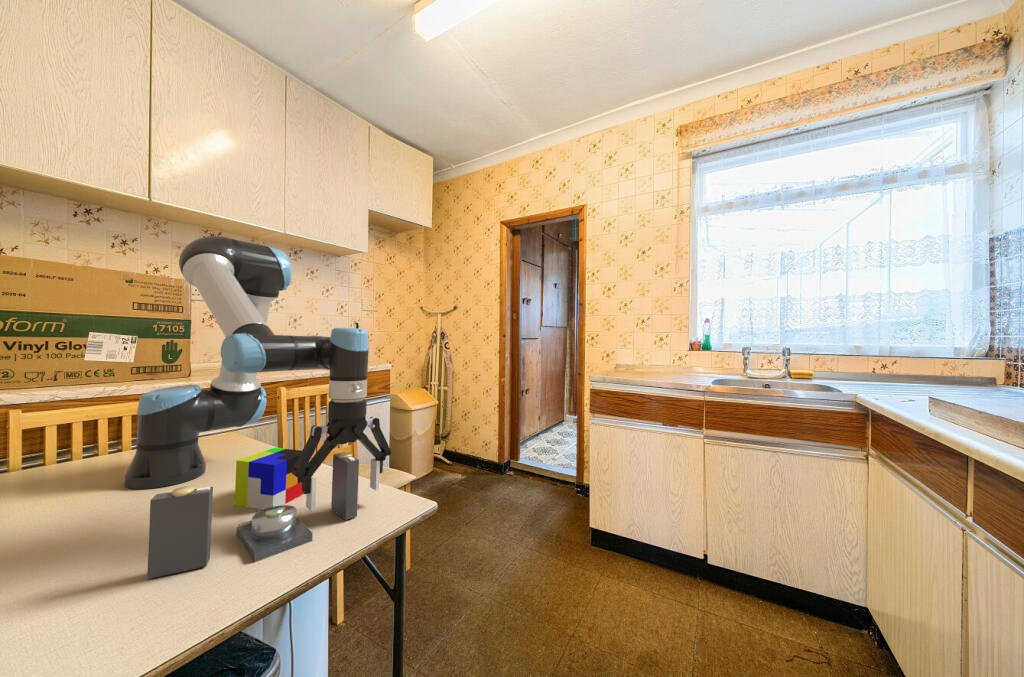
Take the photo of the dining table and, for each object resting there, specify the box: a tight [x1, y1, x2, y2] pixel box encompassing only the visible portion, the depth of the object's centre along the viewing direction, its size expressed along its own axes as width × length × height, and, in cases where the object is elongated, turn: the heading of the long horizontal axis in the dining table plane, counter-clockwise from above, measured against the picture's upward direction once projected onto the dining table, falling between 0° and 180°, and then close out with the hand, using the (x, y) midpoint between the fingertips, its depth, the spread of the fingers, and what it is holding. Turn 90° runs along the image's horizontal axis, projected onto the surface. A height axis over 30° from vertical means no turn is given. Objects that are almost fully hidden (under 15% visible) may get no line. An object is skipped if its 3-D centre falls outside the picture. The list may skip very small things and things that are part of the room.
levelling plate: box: [235, 504, 313, 563], centre depth 67 cm, size 12×9×5 cm
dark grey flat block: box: [146, 485, 214, 580], centre depth 57 cm, size 7×3×13 cm, turn 119°
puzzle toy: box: [234, 447, 305, 510], centre depth 83 cm, size 10×10×10 cm
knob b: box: [330, 451, 360, 521], centre depth 77 cm, size 7×3×13 cm, turn 49°
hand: (344, 497), depth 77 cm, fingers open, 13 cm apart
